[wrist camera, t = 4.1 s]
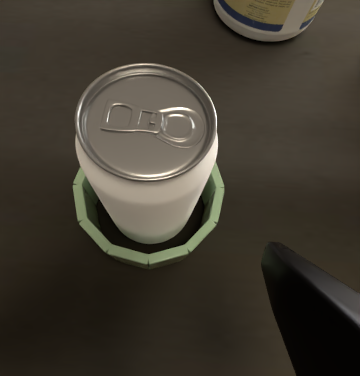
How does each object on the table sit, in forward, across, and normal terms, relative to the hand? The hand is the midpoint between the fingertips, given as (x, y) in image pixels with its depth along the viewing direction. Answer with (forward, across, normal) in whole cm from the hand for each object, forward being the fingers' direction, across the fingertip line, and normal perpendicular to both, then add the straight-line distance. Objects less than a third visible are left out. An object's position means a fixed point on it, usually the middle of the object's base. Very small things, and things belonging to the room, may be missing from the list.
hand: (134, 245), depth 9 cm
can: (+12, 0, +5) cm, 13 cm away
